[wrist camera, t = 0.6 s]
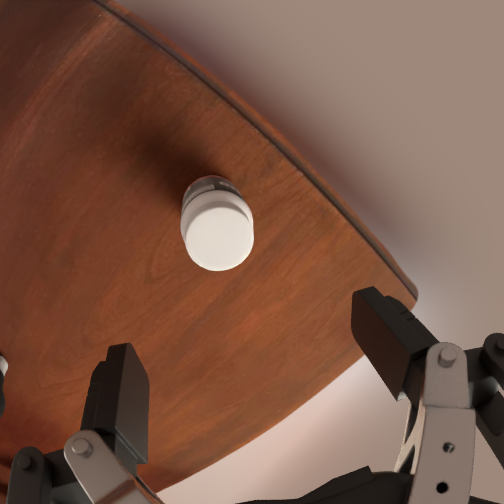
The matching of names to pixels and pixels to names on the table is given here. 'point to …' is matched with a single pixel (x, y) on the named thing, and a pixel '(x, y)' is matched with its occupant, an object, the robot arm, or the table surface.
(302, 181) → the table surface
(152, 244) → the table surface
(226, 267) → the pill bottle
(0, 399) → the light bulb
